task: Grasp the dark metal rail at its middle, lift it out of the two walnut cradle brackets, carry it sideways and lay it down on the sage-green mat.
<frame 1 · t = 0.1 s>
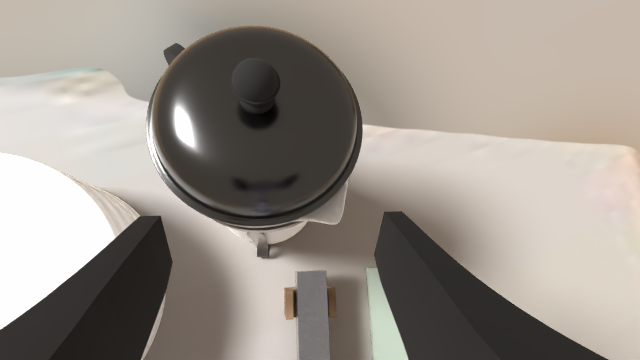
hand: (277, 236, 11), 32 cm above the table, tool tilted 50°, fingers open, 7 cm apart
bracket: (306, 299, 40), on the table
rail: (311, 354, 36), point 3 cm above the table, touching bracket, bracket
mat: (402, 348, 40), on the table
plate stack: (38, 300, 37), on the table
coffee press: (259, 195, 43), on the table
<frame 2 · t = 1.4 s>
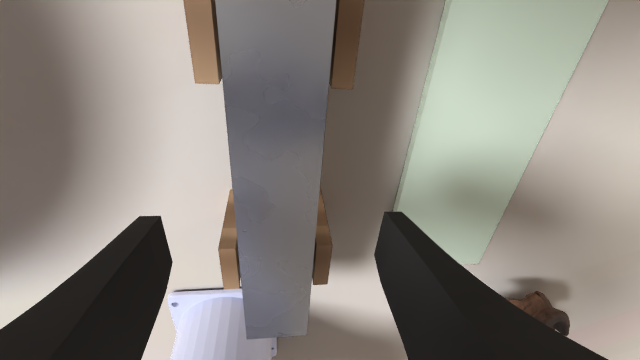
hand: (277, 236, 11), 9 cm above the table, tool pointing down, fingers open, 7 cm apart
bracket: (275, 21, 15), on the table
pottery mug: (477, 311, 31), on the table
rail: (276, 162, 15), point 3 cm above the table, touching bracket, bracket
mat: (469, 148, 20), on the table
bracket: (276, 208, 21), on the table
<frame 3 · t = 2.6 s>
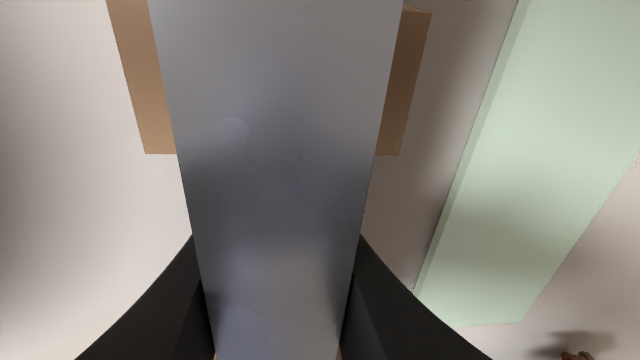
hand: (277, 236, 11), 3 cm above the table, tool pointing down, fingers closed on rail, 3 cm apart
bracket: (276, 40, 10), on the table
rail: (277, 238, 11), point 3 cm above the table, touching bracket, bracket, gripper
mat: (523, 196, 16), on the table
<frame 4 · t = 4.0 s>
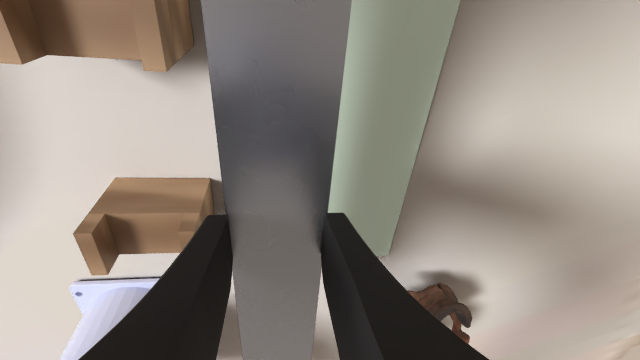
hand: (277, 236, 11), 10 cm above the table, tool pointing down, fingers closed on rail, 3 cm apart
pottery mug: (394, 304, 31), on the table
rail: (275, 180, 13), point 7 cm above the table, touching gripper
mat: (356, 139, 20), on the table
when the fingers open (10 cm above the table, at t = 4.0 s): rail drops 4 cm and tips over, resting on mat.
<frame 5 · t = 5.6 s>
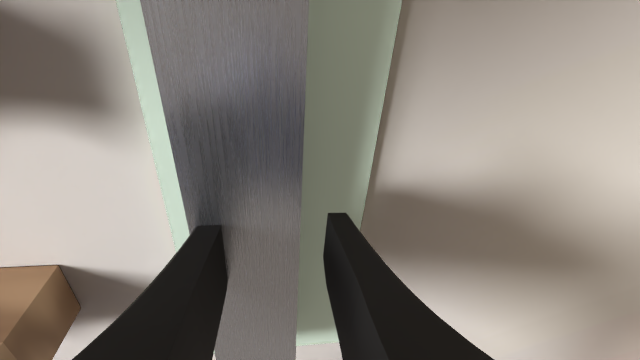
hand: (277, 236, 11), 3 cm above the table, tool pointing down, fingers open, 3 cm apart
rail: (202, 215, 11), point 2 cm above the table, tilted 90°, touching gripper, mat
mat: (269, 205, 14), on the table
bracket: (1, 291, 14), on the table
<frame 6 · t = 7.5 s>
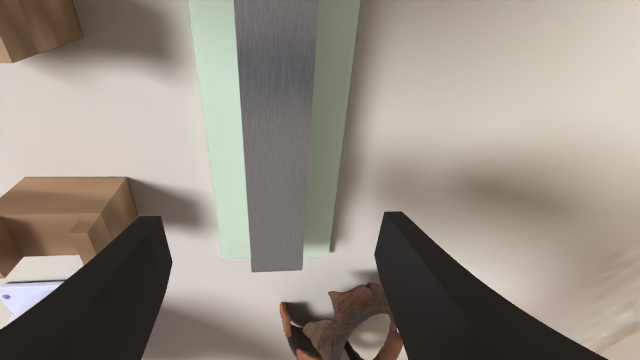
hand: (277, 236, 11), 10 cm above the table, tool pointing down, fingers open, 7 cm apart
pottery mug: (334, 304, 30), on the table
rail: (245, 131, 17), point 2 cm above the table, tilted 90°, touching mat
mat: (276, 135, 19), on the table
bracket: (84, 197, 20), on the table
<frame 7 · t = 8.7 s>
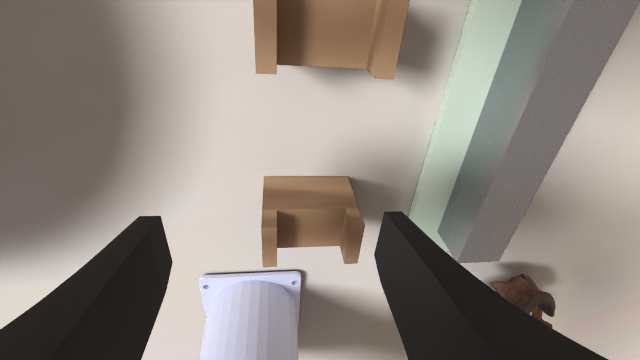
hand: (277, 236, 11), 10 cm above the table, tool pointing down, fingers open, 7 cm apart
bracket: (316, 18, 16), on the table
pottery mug: (468, 296, 32), on the table
rail: (490, 135, 19), point 2 cm above the table, tilted 90°, touching mat
mat: (487, 138, 21), on the table
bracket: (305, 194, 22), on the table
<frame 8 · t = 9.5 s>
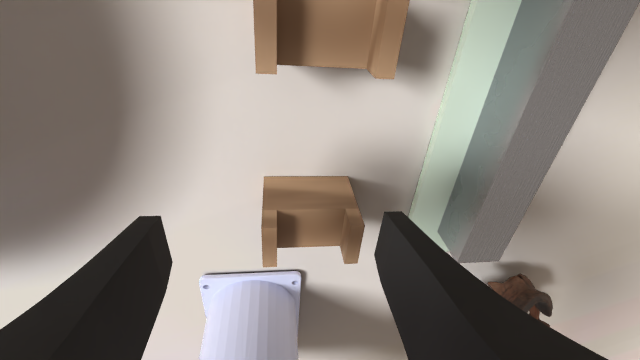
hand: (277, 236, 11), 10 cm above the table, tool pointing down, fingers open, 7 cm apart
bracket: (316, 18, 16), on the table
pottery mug: (465, 296, 32), on the table
rail: (490, 135, 19), point 2 cm above the table, tilted 90°, touching mat
mat: (487, 138, 21), on the table
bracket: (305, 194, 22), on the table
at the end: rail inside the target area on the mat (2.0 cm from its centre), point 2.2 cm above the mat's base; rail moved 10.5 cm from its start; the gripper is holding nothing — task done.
